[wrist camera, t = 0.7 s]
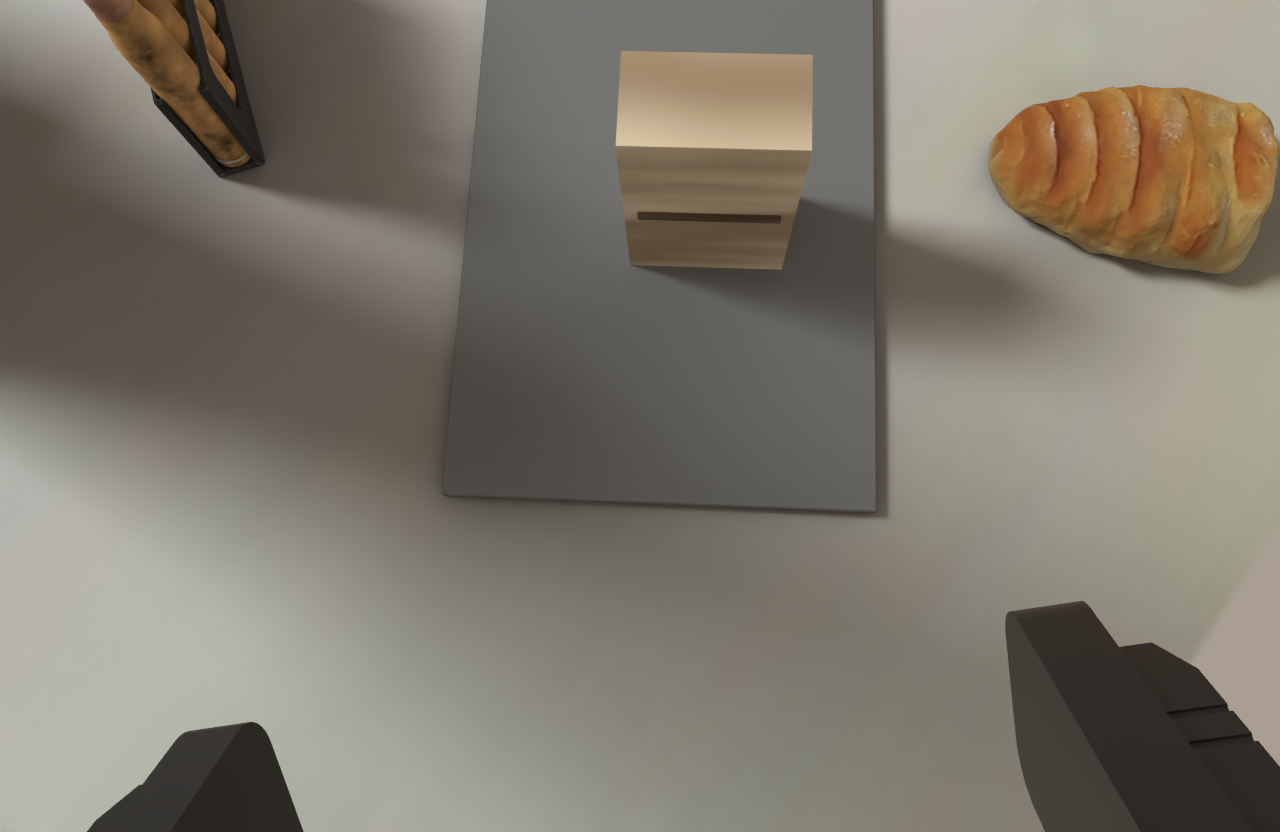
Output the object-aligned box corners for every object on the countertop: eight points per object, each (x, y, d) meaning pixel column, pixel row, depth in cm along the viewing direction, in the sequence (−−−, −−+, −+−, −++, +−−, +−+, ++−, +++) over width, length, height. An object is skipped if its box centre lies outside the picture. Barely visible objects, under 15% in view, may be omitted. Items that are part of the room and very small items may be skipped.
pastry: (974, 255, 39) (1005, 210, 35) (988, 92, 40) (1019, 33, 37) (1235, 288, 38) (1295, 246, 34) (1239, 122, 40) (1296, 64, 36)
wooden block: (781, 273, 38) (812, 155, 29) (630, 269, 38) (615, 150, 29) (783, 189, 39) (812, 50, 30) (634, 185, 39) (621, 46, 30)
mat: (444, 495, 37) (441, 493, 37) (501, -131, 43) (499, -140, 43) (873, 512, 36) (875, 510, 36) (869, -126, 42) (871, -136, 42)
